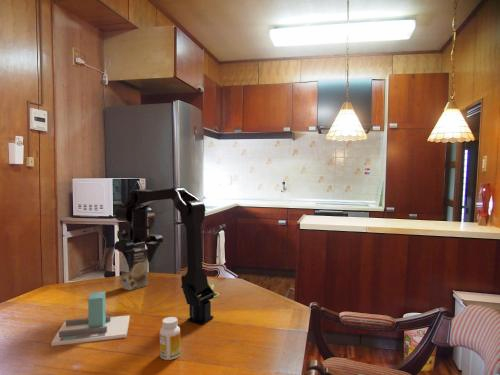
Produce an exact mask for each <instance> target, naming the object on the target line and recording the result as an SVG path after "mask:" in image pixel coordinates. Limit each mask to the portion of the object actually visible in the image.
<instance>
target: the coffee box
mask: <svg viewBox="0 0 500 375" xmlns="http://www.w3.org/2000/svg"><path fill="white" fill-rule="evenodd" d="M133 250H135V252H134V259H133V265H132V268H129V266H128V264H127V261H126V259H125V256H124V255H123V253H122V252H121V288H122V289H124V290H127V291H133V290H136V289H140V288H143V287H147V286H149V280H148V279H149V278H148V274H149V273H148V272H149V270H148V269H149V264H148V263H149V262H148V256H147V248H144V247H136V248H135V247H134V248H133Z"/></svg>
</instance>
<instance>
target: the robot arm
mask: <svg viewBox="0 0 500 375" xmlns="http://www.w3.org/2000/svg"><path fill="white" fill-rule="evenodd" d="M163 200H172V201H173V205H174V207H175V208H176V210H177V211H178V212H179V215H180V220H181V222H182V224H183V226H184V227H185V235H186V237H185V239H186V242H185V243H186V263H187V271H186V273H185V274H183V275H181V277H180V278H181V279H180V280H181V286H180V287H181V288H180V289H182V291H183V294H184V297H185V301H186V304H187V305H189V309H188V310H189V317H188V318H187V321H188V322H190V323H191V322H192V323H195V324H199V325H205V324H206V323H207V322H209V321H210V320H212V319H214V315H211V312H212V311H211V310H212V306H211V303H212V302H211V300H212V299H215V298H214V296H216V295H215V293H214V292H215V291H214V289H213V290H212V289H211V287H210V286H209V285H210V284H209V281H208V276H207V274H206V273H205V271H204V268H203V255H202V254H203V253H202V251H203V250H202V229H201V228H202V225H203V222H204V220H205V215H206V205H205V203H203V202H202V200H199V199H198V198H197V197H196V196H195V195H193V194H191V193H189V192H188V191H187V190H186V189H185V188H184V187H182V186H181V187H180V186H177V187H175V186H174V187H171V188H165V189H159V190H158V189H157V190H151V189H133V190H130V191H129V194H128V196H127V198H126V200H125V202H124V203H119V207H118V208H117V209H116V210H115V213H114V216H115V220H117V221H118V222H124V223H131V225H129V226H128V230H125V229H119V230H117V233H116V237H117V239H118V241H116V242H115V243H114V250H115V251H118V252H121V254H122V253H123V255H124V256H125V259H126V261H127V264H128V266H129V268H132V265H133V259H134V252H135V250H133V249H134V248H135V247H136V246H140V245H145V246H146V249H147V256H148V263H151V262H152V260H153V258H154V256H155V254H156V253H157V250H158V248H159V246H160V245H162V243H163V242H164V237H163V236H162V234H157V233H156V234H155V233H151V234H149V230H150V229H151V225H149V219H148V218H149V215H148V214H149V213H150V212H153V209H152V208H151V207H149V204H152V203H153V202H156V201H157V202H158V201H163Z"/></svg>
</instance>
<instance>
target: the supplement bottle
mask: <svg viewBox="0 0 500 375" xmlns="http://www.w3.org/2000/svg"><path fill="white" fill-rule="evenodd" d="M161 323H162V327H161V328H160V329H159V356H160V358H161V359H162V360H165V361H170V360H174V359H177V358H179V357H180V356H181V328H180V326H179V325H178V324H179V323H178V318H177V317H174V316H169V317H165V318H163V319H162V322H161Z"/></svg>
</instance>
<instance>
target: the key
mask: <svg viewBox="0 0 500 375" xmlns="http://www.w3.org/2000/svg"><path fill="white" fill-rule="evenodd" d="M209 286H210V287H211V289H212V290H213V291H214V286H215V285H214V284H213V283H212V284H209ZM214 293H215V295H214V298H213V299H216V298H219V297H220V293H219V292H216V291H214Z"/></svg>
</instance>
